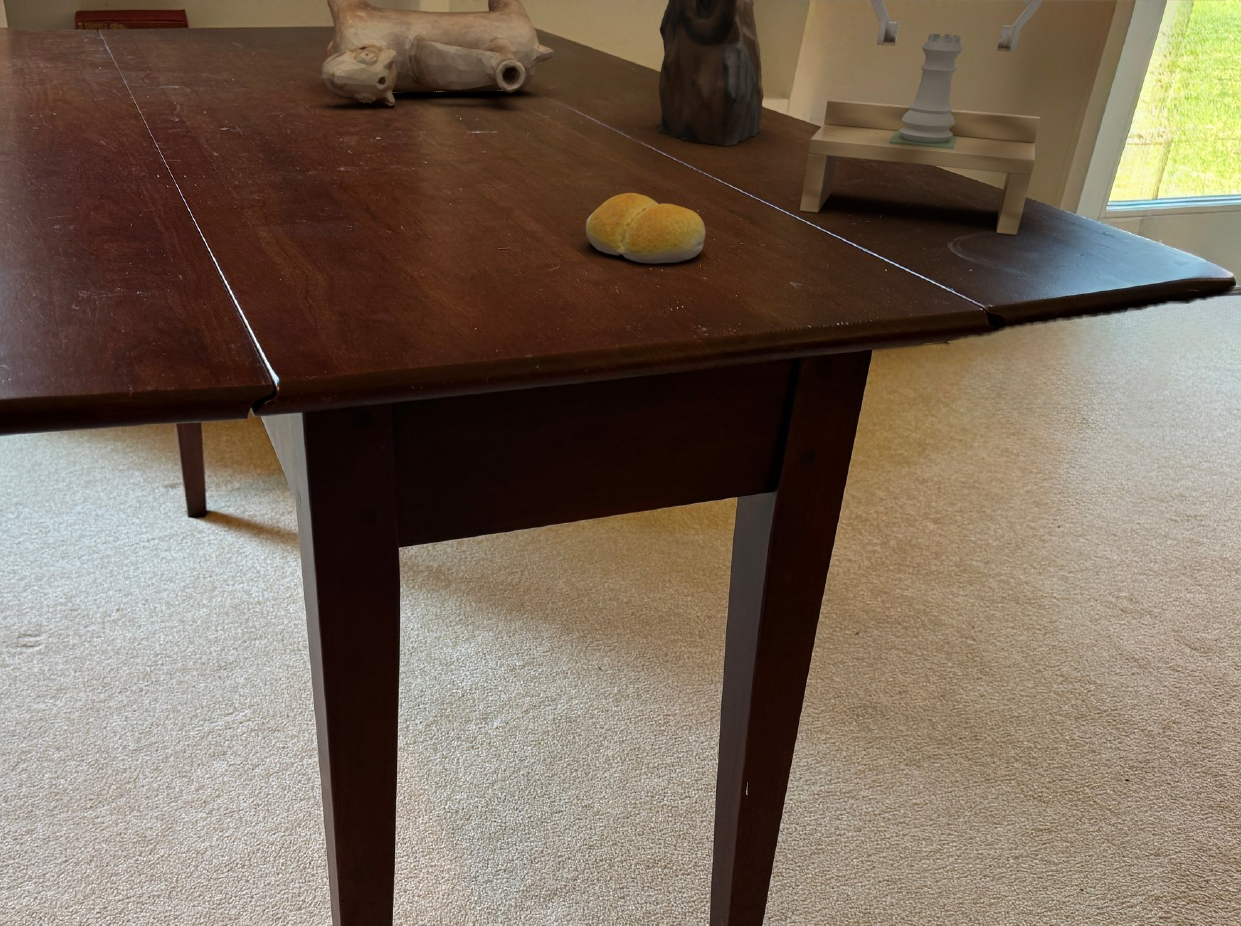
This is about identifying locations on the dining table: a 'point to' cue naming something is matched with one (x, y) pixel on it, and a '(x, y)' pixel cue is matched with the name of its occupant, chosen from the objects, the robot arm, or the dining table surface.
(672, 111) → the owl
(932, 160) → the bench
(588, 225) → the bread roll
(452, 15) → the ceramic vessel
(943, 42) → the rook chess piece
